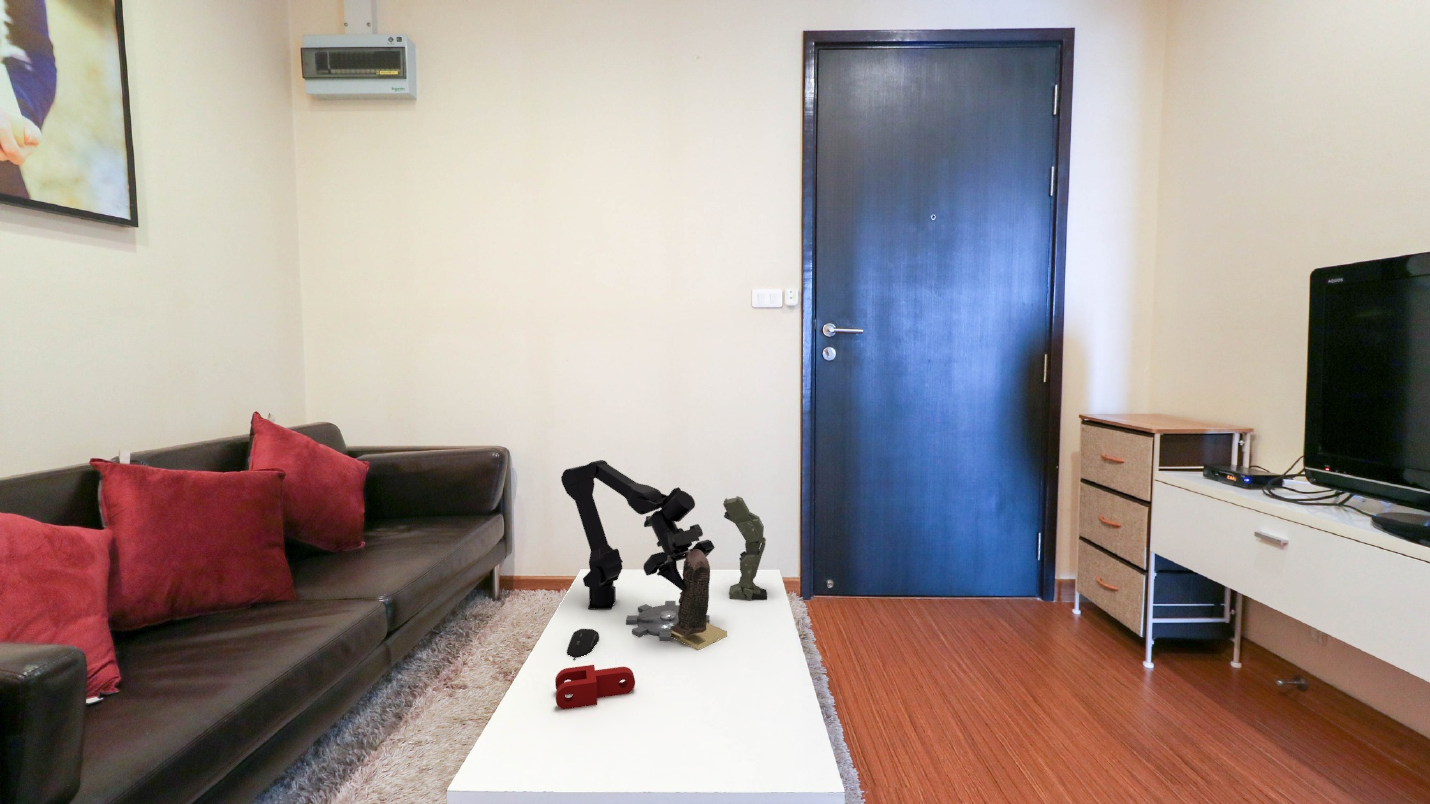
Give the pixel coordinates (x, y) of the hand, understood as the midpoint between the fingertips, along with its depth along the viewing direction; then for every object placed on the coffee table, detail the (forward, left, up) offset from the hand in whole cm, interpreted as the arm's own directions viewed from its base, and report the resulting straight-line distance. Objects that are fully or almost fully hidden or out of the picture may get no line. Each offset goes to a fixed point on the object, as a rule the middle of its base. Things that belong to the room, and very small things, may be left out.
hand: (695, 587), depth 153 cm
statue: (-1, 0, -11) cm, 11 cm away
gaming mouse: (-27, -3, -14) cm, 31 cm away
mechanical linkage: (-20, -23, -14) cm, 34 cm away
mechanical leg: (+14, +28, -14) cm, 34 cm away
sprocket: (-5, +9, -13) cm, 17 cm away
